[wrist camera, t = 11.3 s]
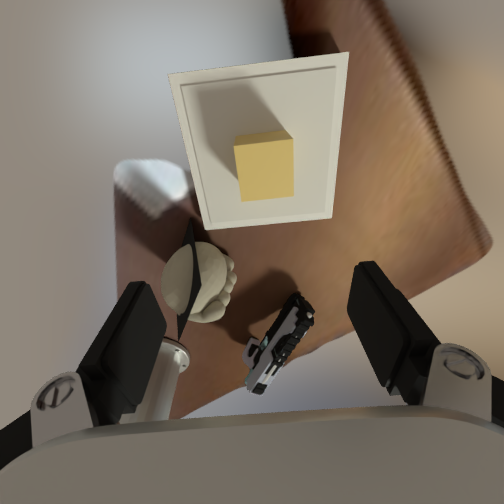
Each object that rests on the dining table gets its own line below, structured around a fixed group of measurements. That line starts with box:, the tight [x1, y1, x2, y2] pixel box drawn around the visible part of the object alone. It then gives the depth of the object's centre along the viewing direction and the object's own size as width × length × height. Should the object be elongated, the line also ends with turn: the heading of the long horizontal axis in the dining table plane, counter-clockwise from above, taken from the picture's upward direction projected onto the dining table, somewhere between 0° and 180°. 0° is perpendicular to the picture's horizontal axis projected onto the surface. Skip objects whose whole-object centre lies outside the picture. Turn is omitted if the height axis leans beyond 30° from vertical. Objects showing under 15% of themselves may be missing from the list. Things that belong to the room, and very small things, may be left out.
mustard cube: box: [234, 130, 294, 202], centre depth 23 cm, size 5×5×5 cm
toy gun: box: [242, 293, 315, 396], centre depth 41 cm, size 2×18×11 cm, turn 149°
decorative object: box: [161, 218, 237, 342], centre depth 31 cm, size 12×10×10 cm
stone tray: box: [168, 52, 349, 230], centre depth 26 cm, size 16×16×2 cm
